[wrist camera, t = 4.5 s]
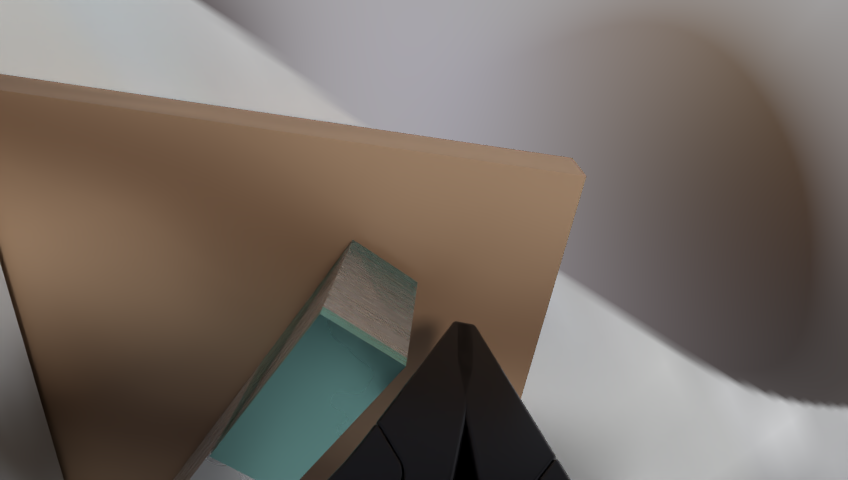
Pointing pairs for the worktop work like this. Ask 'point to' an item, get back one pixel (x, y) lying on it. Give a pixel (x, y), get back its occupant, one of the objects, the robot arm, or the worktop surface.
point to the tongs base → (232, 262)
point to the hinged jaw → (314, 375)
